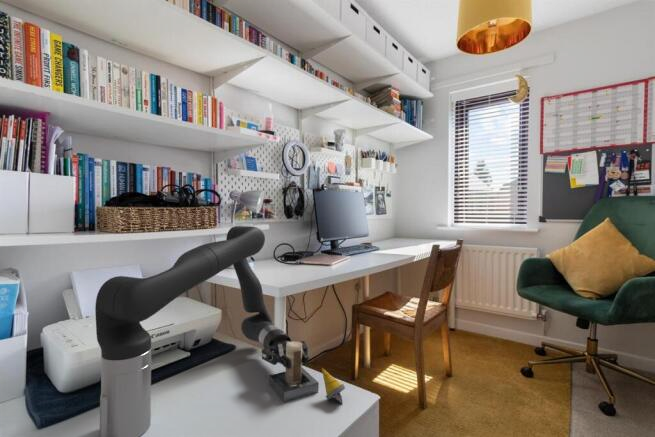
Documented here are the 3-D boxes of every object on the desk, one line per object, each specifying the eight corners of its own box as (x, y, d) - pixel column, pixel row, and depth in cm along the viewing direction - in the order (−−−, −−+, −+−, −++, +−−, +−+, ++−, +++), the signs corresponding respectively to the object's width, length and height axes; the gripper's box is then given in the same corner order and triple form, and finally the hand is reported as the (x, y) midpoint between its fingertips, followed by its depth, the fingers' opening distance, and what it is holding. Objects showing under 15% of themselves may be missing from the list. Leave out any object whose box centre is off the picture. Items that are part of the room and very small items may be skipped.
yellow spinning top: (331, 412, 80) (310, 374, 85) (336, 410, 85) (316, 374, 89) (349, 398, 80) (327, 361, 85) (353, 397, 85) (332, 362, 90)
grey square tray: (284, 402, 83) (284, 391, 83) (269, 384, 91) (269, 374, 91) (318, 391, 88) (318, 381, 88) (301, 375, 97) (301, 366, 97)
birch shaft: (289, 386, 87) (290, 349, 87) (282, 379, 91) (283, 343, 90) (304, 382, 89) (305, 346, 89) (297, 375, 93) (297, 340, 93)
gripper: (252, 332, 98) (273, 354, 84) (295, 325, 106) (322, 343, 91) (251, 357, 98) (273, 383, 84) (295, 348, 106) (321, 370, 91)
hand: (298, 362), depth 87 cm, fingers closed on birch shaft, 4 cm apart
